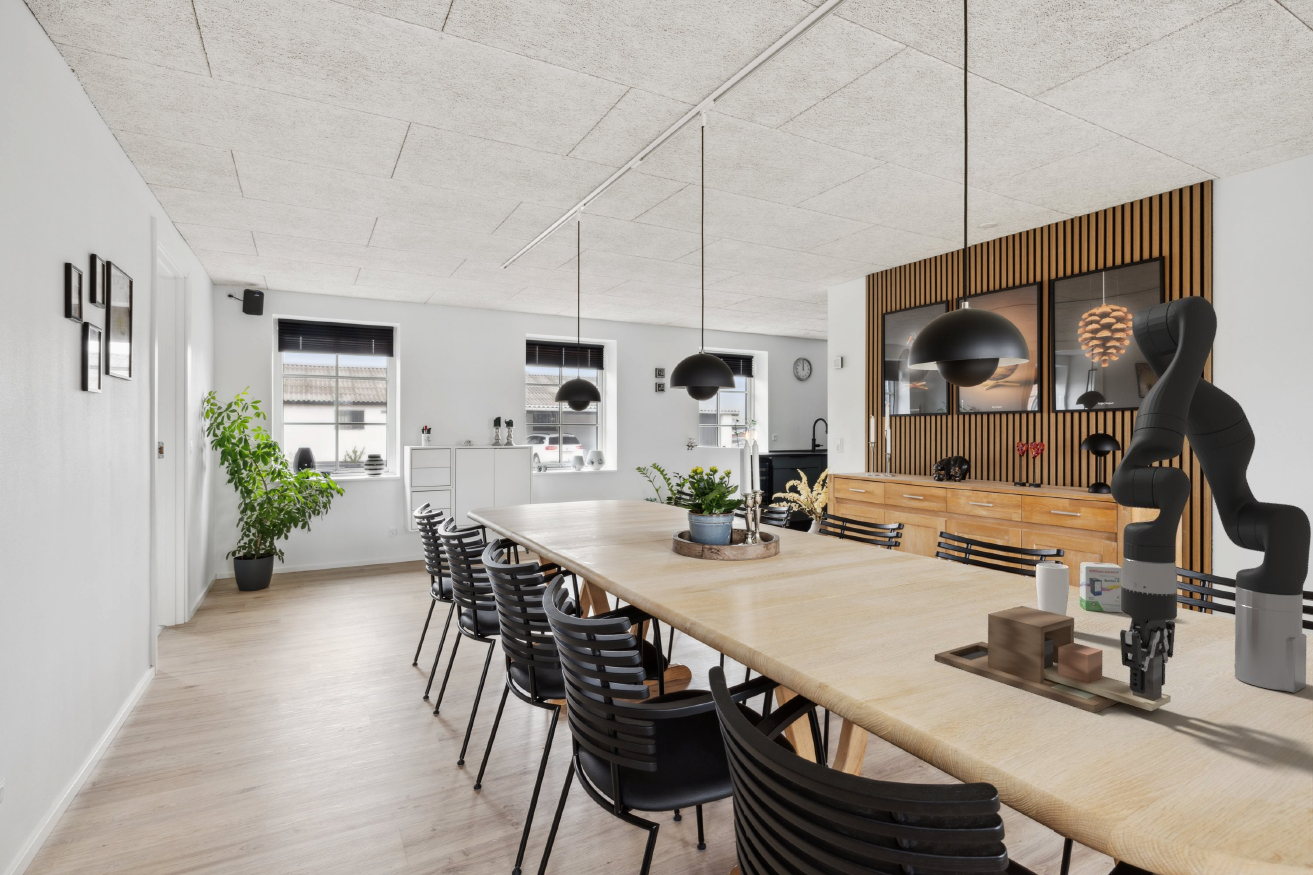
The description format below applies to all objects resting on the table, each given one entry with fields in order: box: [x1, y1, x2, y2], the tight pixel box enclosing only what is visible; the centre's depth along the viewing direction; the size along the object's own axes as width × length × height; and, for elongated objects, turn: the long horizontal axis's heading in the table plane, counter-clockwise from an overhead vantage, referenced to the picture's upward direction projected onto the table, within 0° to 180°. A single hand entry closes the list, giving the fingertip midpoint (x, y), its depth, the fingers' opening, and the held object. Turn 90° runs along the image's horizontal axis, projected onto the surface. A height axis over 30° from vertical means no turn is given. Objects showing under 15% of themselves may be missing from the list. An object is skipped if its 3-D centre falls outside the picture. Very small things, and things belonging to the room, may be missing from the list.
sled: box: [1044, 637, 1172, 712], centre depth 120 cm, size 21×7×8 cm, turn 32°
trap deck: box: [934, 605, 1130, 714], centre depth 129 cm, size 30×16×11 cm, turn 32°
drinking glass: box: [1035, 562, 1070, 616], centre depth 159 cm, size 7×7×15 cm
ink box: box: [1079, 561, 1124, 613], centre depth 177 cm, size 9×5×12 cm, turn 73°
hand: (1147, 687), depth 112 cm, fingers open, 6 cm apart
